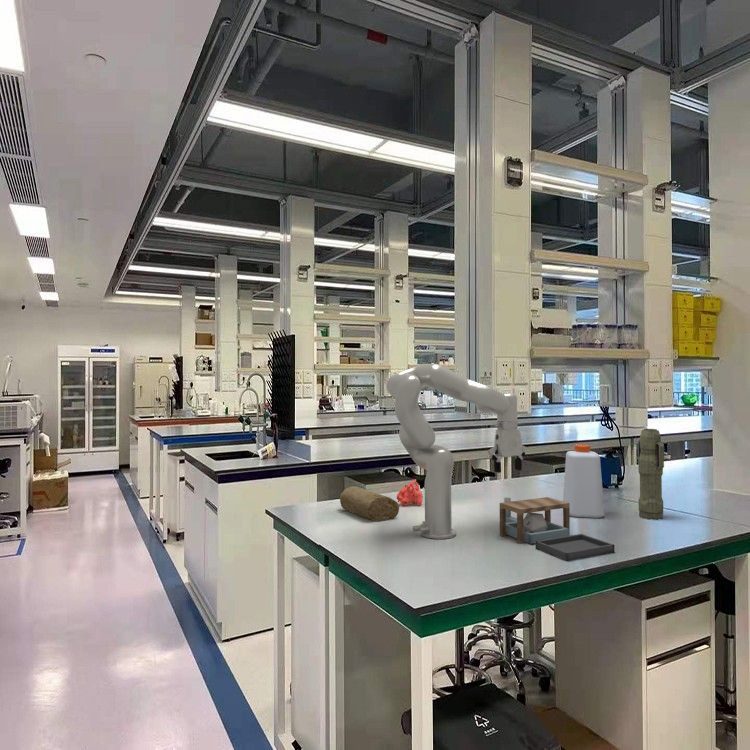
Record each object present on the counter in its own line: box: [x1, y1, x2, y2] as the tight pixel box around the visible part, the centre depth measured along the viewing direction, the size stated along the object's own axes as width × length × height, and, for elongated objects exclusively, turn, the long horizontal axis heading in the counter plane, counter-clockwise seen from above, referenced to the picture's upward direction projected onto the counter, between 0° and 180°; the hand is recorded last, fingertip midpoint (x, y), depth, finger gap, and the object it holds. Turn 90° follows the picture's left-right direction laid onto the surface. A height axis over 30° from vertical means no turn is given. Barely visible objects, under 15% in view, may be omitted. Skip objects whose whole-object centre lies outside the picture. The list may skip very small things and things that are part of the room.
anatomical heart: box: [396, 479, 424, 507], centre depth 247 cm, size 9×12×12 cm
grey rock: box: [523, 512, 548, 533], centre depth 199 cm, size 8×9×10 cm
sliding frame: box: [503, 497, 571, 545], centre depth 203 cm, size 24×17×10 cm
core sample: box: [339, 485, 400, 522], centre depth 231 cm, size 14×26×10 cm, turn 33°
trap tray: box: [534, 533, 615, 562], centre depth 182 cm, size 20×14×2 cm
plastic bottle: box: [562, 444, 605, 519], centre depth 230 cm, size 15×15×28 cm
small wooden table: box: [499, 496, 571, 545], centre depth 199 cm, size 22×11×12 cm, turn 115°
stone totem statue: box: [636, 428, 665, 521], centre depth 224 cm, size 9×12×35 cm
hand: (508, 471), depth 213 cm, fingers open, 9 cm apart
